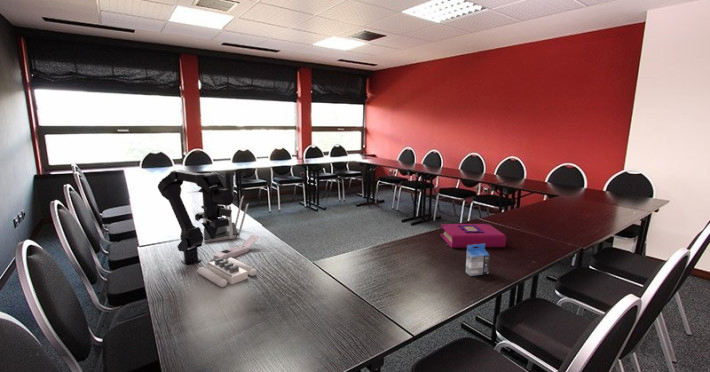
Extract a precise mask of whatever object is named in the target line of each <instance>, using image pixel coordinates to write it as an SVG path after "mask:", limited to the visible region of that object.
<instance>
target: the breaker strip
mask: <svg viewBox="0 0 710 372" xmlns="http://www.w3.org/2000/svg"><path fill="white" fill-rule="evenodd" d="M206 269H208V270H210V271H211V272H213V273H215V274H216V275H218V276H220V277H222V278H223V279H225V280H226V281H227V283H229V284H230V285H235V284H236V283H239V282H242V281H245V280H246V279H248V278H249V274H248V273H247V271H246V270H244V269H242V268H240V267H239V266H238V265H234V263H232V262H229V261H228V260H224V258H222V257H221V258H217V259H214V260H213V261H207V262H206Z"/></svg>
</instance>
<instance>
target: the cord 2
mask: <svg viewBox="0 0 710 372" xmlns="http://www.w3.org/2000/svg"><path fill="white" fill-rule="evenodd" d="M228 261H229V262H232V263H234V265H238V266H239V267H240V268H242V269H244V270H246V271H247V273H248V276H251V277H254V276H256V275H257V269H255V268H253V267H252V266H249V265H248V264H246V263H244V262H242V261H239V260H237V259H235V257H233V258H231V257H230V258H228Z"/></svg>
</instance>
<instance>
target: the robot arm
mask: <svg viewBox="0 0 710 372" xmlns="http://www.w3.org/2000/svg"><path fill="white" fill-rule="evenodd" d="M184 182H186V183H187V182H188V183H191V184H192V183H194V184H196V186H198V188H200V189H199V190H198V191H197V192H198V193H202V204H203V205H201V206H200V208H201V209H202V210H203V211H201V212H198V213H196V214H195V215H194V217H195V218H194V220H195V221H197V222H199V221H200V220H203V222H201V225H202V226H203V229H204V228H205V229H206V231H207V232H208V234H209V235H210V237H211V239H215V236H216V232H217V229H218V228H219V227H223V226H228V225H229V220H228V219H226V216H227V217H230V216H231V214H232V212H233V210H232V209H231V210H229V208H228V209H226V208H225V206H228V207H229V206H231V205H232V204H233V202H234V197H235V196H234V194H233V193H232V192H231V191H230V189H229V188H226V187H225V185H224V183H223V182H222V181H221V179H220V178H219V176H218V174H217V173H216V172H207V173H206V172H205V173H198V172H195V171H188V170H184V169H176V170H172V171H170V172H169V174H168V175H166V176H164V177H163V178H162V179H161V180H160V181H159V182H158V184H157V189H158V191H159V193H160V194H161V196H162V197H163V198H164V199H166V200H167V201H168V202H169V205H170V206H171V209H172V211H173V214H174V216H175V218H176V221H177V223H178V225H179V227H180V229H181V230H180V236H179V238H180V242H179V243H178V245H177V250H178V251H179V252H183V259H181V261H180V262H182V263H183V264H185V266H186V265H187V266H189V265H192V264H196V263H200V262H202V259H201V258H199V251H198V248H199V247H202V245H203V241H204V233H202V229H201V228H200V226H195V225H194V224H193V222H192V220H191V218H190V215H189V212H188V211H187V208H186V205H185V204H184V201H183V200H182V197H181V195H182V187H181V186H182V185H183V184H184Z"/></svg>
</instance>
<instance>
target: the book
mask: <svg viewBox="0 0 710 372" xmlns="http://www.w3.org/2000/svg"><path fill="white" fill-rule="evenodd" d="M440 228H441V229H443V230H444V232H443V233H440V234H439V235H440V237H441V238H442V239H443V241H445V242H446V244H448V245H449V247H450V248H451V249H452V248H454V249H456V248H459V249H460V248H463V249H464V248H466V249H467V245H475V244H485V248H506V245H507V236H506V234H505V233H503V232H502V231H500V230H499V229H497V228H495V227H494V226H492V225H491V224H489V223H441V224H440ZM473 248H478V247H477V246H476V247H473Z"/></svg>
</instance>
